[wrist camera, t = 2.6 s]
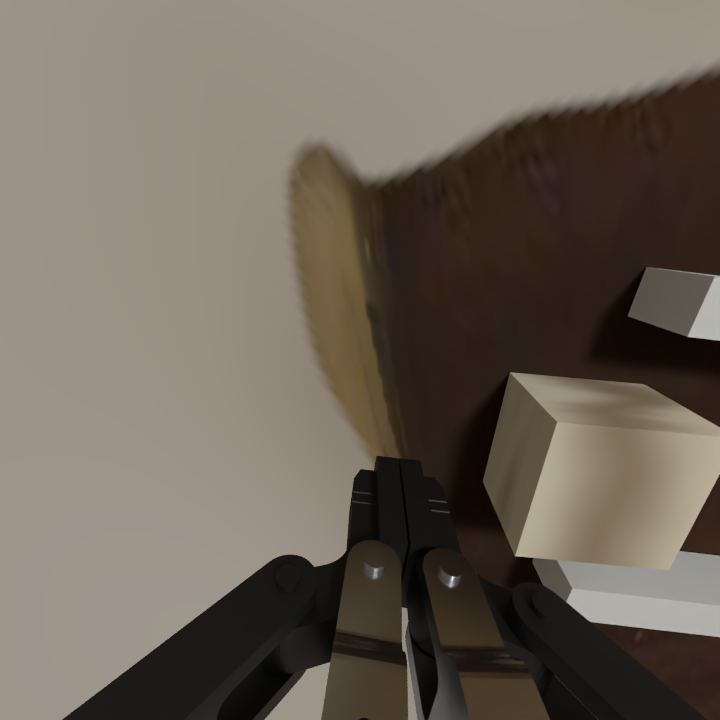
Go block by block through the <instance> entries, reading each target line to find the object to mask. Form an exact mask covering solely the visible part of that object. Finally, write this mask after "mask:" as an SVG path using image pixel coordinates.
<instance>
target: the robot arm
mask: <svg viewBox="0 0 720 720" xmlns="http://www.w3.org/2000/svg"><path fill="white" fill-rule="evenodd" d="M402 607H404V608H407V611H408V620H409V621H408V626H407V630H406V636H405V637H406V646H407V652H408V659H409V666H410V672H411V678H412V685H413V692H414V698H415V705H416V712H417V718H418V720H597V719H596V718H595V717H594V716H593V715H592V713H593V714H594V715H595V716H596V717H597V718H598V719H599V720H707V719H706V718H704V717H703V716H702V715H701V714H700V713H699V712H697V711H696V710H695V709H694V708H693V707H691V706H690V705H689V704H688V703H687V702H685V701H684V700H683V699H682V698H681V697H679V696H678V695H677V694H676V693H675V692H673V691H672V690H671V689H670V688H669V687H667V686H666V685H665V684H664V683H663V682H661V681H660V680H659V679H658V678H657V677H655V676H654V675H653V674H652V673H651V672H649V671H648V670H647V669H646V668H645V667H643V666H642V665H641V664H640V663H639V662H637V661H636V660H635V659H634V658H633V657H631V656H630V655H629V654H628V653H627V652H625V651H624V650H623V649H622V648H621V647H619V646H618V645H617V644H616V643H615V642H613V641H612V640H611V639H610V638H609V637H607V636H606V635H605V634H604V633H603V632H601V631H600V630H599V629H598V628H597V627H596V626H594V625H593V624H592V623H591V622H590V621H588V620H587V619H586V618H585V617H584V616H582V615H581V614H580V613H579V612H578V611H576V610H575V609H574V608H573V607H572V606H570V605H569V604H568V603H567V602H566V601H564V600H563V599H562V598H561V597H560V596H558V595H557V594H556V593H555V592H553V591H552V590H550V589H549V588H547V587H545V586H543V585H540V584H537V583H533V582H523V583H520V584H518V585H517V586H516V587H515V588H514V591H513V592H512V591H510V590H508V589H505V588H503V587H500V586H498V585H495V584H493V583H491V582H488V581H486V580H485V579H483V578H481V577H480V576H479V575H477V573H476V571H475V569H474V567H473V565H472V564H471V563H470V562H469V560H468V559H466V558H465V557H464V556H463V555H462V553H461V550H460V546H459V543H458V539H457V535H456V532H455V528H454V525H453V521H452V517H451V514H450V510H449V507H448V504H447V499H446V496H445V492H444V489H443V488H442V486H441V485H440V484H439V483H438V481H437V480H436V479H435V478H434V477H425V476H424V475H423V470H422V466H421V462H420V461H418V460H409V459H400V458H399V459H398V458H391V457H382V456H377V457H376V462H375V468H374V471H372V470H363V469H362V470H360V471H359V473H358V474H357V475H356V477H355V478H354V483H353V490H352V497H351V506H350V512H349V525H348V539H347V551H346V552H345V554H344V555H343V556H342V557H341V558H340V559H338V560H336V561H335V562H333V563H330V564H327V565H323V566H317V567H314V566H313V565H312V564H311V563H310V562H309V561H308V560H307V559H305V558H303V557H301V556H297V555H283V556H280V557H277V558H275V559H273V560H272V561H270V562H269V563H267V564H266V565H265V566H263V567H262V568H261V569H260V570H258V571H257V572H256V573H254V574H253V575H252V576H250V577H249V578H248V579H246V580H245V581H244V582H242V583H241V584H240V585H239V586H237V587H236V588H234V589H233V590H232V591H231V592H229V593H228V594H227V595H225V596H224V597H223V598H222V599H220V600H219V601H217V602H216V603H215V604H214V605H212V606H211V607H210V608H208V609H207V610H206V611H204V612H203V613H202V614H200V615H199V616H198V617H196V618H195V619H194V620H193V621H191V622H190V623H189V624H187V625H186V626H185V627H183V628H182V629H181V630H179V631H178V632H177V633H175V634H174V635H173V636H172V637H170V638H169V639H168V640H166V641H165V642H164V643H162V644H161V645H160V646H158V647H157V648H156V649H154V650H153V651H152V652H151V653H149V654H148V655H147V656H145V657H144V658H143V659H141V660H140V661H139V662H137V663H136V664H135V665H133V666H132V667H131V668H130V669H128V670H127V671H126V672H124V673H123V674H122V675H120V676H119V677H118V678H117V679H115V680H114V681H112V682H111V683H110V684H109V685H107V686H106V687H105V688H103V689H102V690H101V691H99V692H98V693H97V694H95V695H94V696H93V697H92V698H90V699H89V700H88V701H86V702H85V703H84V704H82V705H81V706H80V707H79V708H77V709H76V710H74V711H73V712H72V713H71V714H70V715H68V716H67V717H65V718H64V719H63V720H264V719H265V718H266V717H267V716H268V715H269V714H270V712H271V711H272V710H273V709H274V708H275V707H276V706H277V704H278V703H279V702H280V701H281V700H282V699H283V698H284V696H285V695H286V694H287V693H288V692H289V690H290V689H291V688H292V687H293V686H294V685H295V684H296V683H297V681H298V680H299V679H300V678H301V677H302V675H303V674H304V672H305V671H306V669H308V668H312V667H315V666H318V665H321V664H325V663H328V662H330V668H329V674H328V680H327V686H326V693H325V699H324V706H323V712H322V718H321V720H408V687H407V660H406V654H405V652H403V650H402ZM554 675H556V676H557V677H558V678H559V679H560V680H561V681H562V682H563V683H564V684H565V685H566V686H567V687H568V688H569V689H570V690H571V691H572V692H573V693H574V694H575V695H576V696H577V697H578V698H579V699H580V701H581V702H582V703H583V704H584V705H585V706H586V707H587V708H588V709H589V710H590V711H591V712H592V713H591V712H590V711H589V710H588V709H587V708H586V707H585V706H584V705H583V704H582V703H581V702H580V701H579V700H578V699H577V698H576V697H575V696H574V695H573V694H572V693H571V692H570V691H569V690H568V689H567V688H566V687H565V686H564V685H563V684H562V683H561V682H560V681H559V680H558V679H557V678H556V677H555V676H554Z"/></svg>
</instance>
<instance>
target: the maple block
mask: <svg viewBox="0 0 720 720" xmlns="http://www.w3.org/2000/svg"><path fill="white" fill-rule="evenodd" d="M719 474H720V427H718V426H716V425H714V424H713V423H711V422H709V421H707V420H706V419H704V418H702V417H700V416H699V415H697V414H695V413H693V412H692V411H690V410H688V409H686V408H685V407H683V406H681V405H679V404H678V403H676V402H674V401H672V400H671V399H669V398H667V397H665V396H664V395H662V394H660V393H658V392H657V391H655V390H653V389H651V388H650V387H648V386H646V385H644V384H634V383H622V382H611V381H600V380H589V379H578V378H567V377H555V376H544V375H533V374H522V373H511V372H510V374H509V378H508V382H507V386H506V390H505V394H504V398H503V402H502V406H501V410H500V415H499V419H498V423H497V427H496V431H495V435H494V439H493V443H492V447H491V451H490V455H489V459H488V463H487V467H486V471H485V475H484V479H483V483H484V486H485V488H486V490H487V492H488V495H489V497H490V499H491V502H492V504H493V506H494V509H495V511H496V513H497V516H498V518H499V520H500V523H501V525H502V527H503V529H504V532H505V534H506V536H507V539H508V541H509V543H510V546H511V548H512V550H513V553H514V555H515V556H519V557H530V558H541V559H552V560H562V561H573V562H584V563H595V564H606V565H617V566H627V567H638V568H649V569H660V570H669V569H670V567H671V565H672V563H673V561H674V559H675V558H676V556H677V554H678V552H679V550H680V548H681V546H682V544H683V542H684V541H685V539H686V537H687V535H688V533H689V531H690V529H691V527H692V525H693V524H694V522H695V520H696V518H697V516H698V514H699V512H700V510H701V508H702V507H703V505H704V503H705V501H706V499H707V497H708V495H709V493H710V491H711V490H712V488H713V486H714V484H715V482H716V480H717V478H718V476H719Z"/></svg>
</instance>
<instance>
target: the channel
mask: <svg viewBox="0 0 720 720" xmlns="http://www.w3.org/2000/svg"><path fill="white" fill-rule="evenodd" d="M628 317H631V318H634V319H637V320H640V321H643V322H646V323H649V324H652V325H654V326H657V327H660V328H663V329H666V330H669V331H672V332H675V333H678V334H681V335H684V336H686V337H693V338H701V339H710V340H718V341H720V276H717V275H708V274H700V273H692V272H683V271H675V270H667V269H659V268H650V267H646V270H645V272H644V275H643V277H642V280H641V283H640V285H639V288H638V290H637V293H636V295H635V298H634V301H633V303H632V306H631V308H630V311H629V314H628ZM532 563H533V565H534V567H535V569H536V571H537V573H538V575H539V577H540V580H541V582H542V584H543V586H545V587H547V588H549V589H550V590H552V591H553V592H555V593H556V594H557V595H558V596H560V597H561V598H562V599H563V600H564V601H566V602H567V603H568V604H569V605H570V606H572V607H573V608H574V609H575V610H576V611H578V612H579V613H580V614H581V615H582V616H584V617H585V618H586V619H587V620H588V621H590V622H596V623H604V624H613V625H621V626H630V627H639V628H647V629H656V630H664V631H673V632H681V633H690V634H699V635H707V636H716V637H720V556H717V555H709V554H700V553H692V552H683V551H679V552H678V554H677V556H676V558H675V559H674V561H673V563H672V565H671V567H670V569H669V570H660V569H649V568H638V567H627V566H617V565H606V564H595V563H584V562H573V561H562V560H552V559H541V558H534V559H533V562H532Z"/></svg>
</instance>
